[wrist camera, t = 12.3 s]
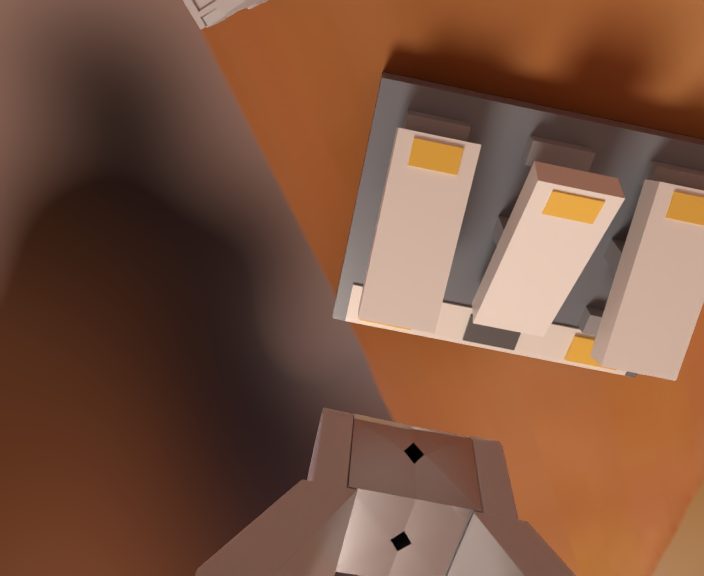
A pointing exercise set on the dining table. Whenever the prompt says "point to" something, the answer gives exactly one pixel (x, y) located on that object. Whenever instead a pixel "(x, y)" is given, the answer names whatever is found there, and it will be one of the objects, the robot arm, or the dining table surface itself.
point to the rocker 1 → (417, 229)
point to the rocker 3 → (656, 285)
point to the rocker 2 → (545, 247)
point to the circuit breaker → (217, 9)
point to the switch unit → (512, 202)
